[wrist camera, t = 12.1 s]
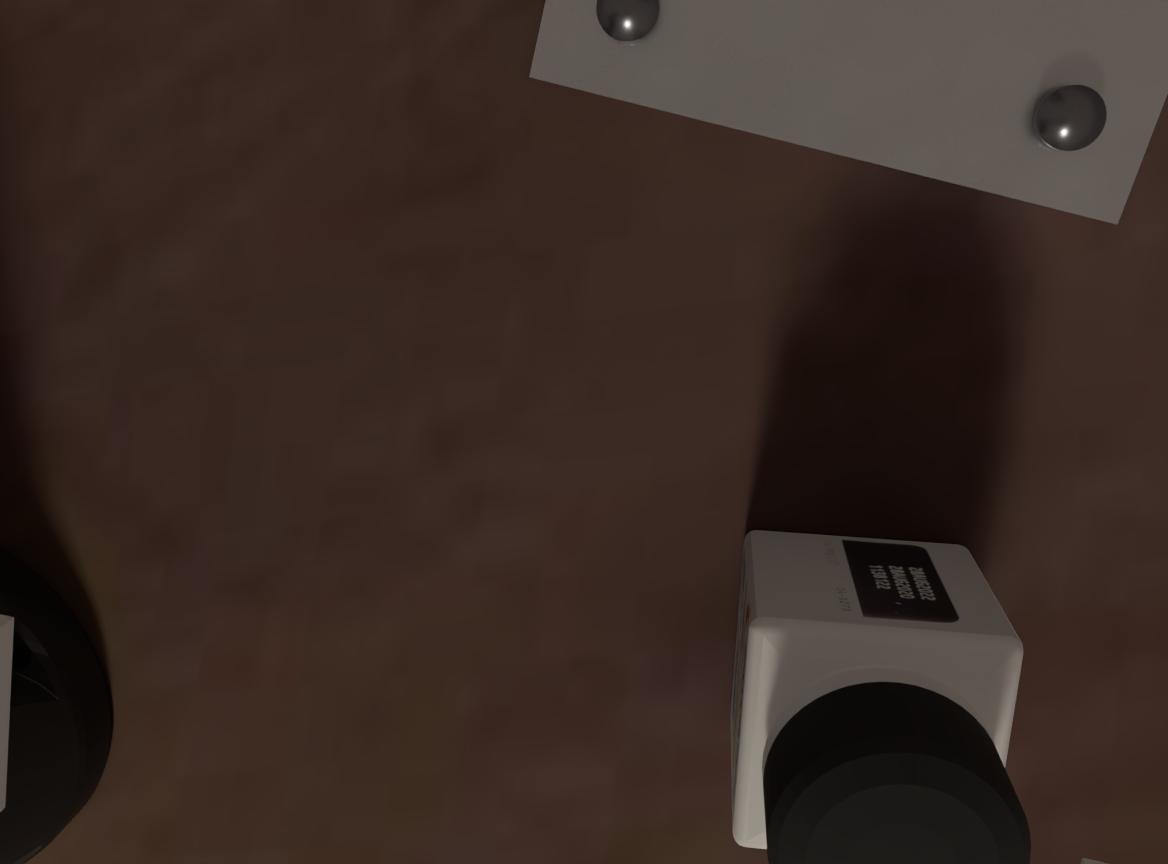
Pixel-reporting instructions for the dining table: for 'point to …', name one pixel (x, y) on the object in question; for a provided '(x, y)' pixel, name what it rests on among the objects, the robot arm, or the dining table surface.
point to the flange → (895, 81)
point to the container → (872, 705)
